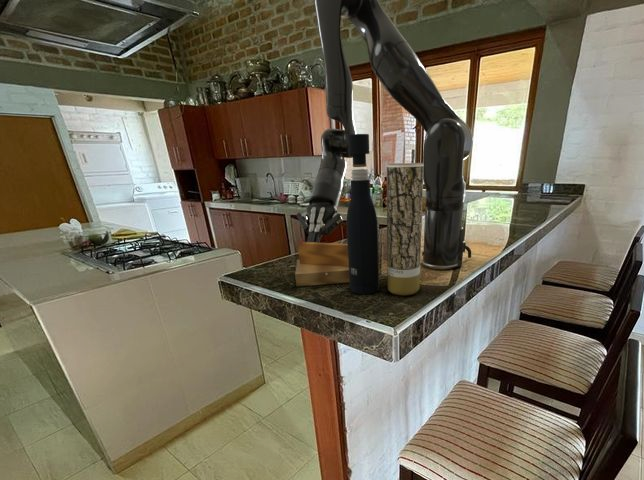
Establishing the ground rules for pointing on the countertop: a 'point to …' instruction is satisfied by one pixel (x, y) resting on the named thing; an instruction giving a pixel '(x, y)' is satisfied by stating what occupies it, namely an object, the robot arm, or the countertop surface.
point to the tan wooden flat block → (323, 253)
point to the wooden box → (320, 274)
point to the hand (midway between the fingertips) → (311, 247)
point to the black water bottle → (362, 223)
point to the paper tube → (404, 226)
